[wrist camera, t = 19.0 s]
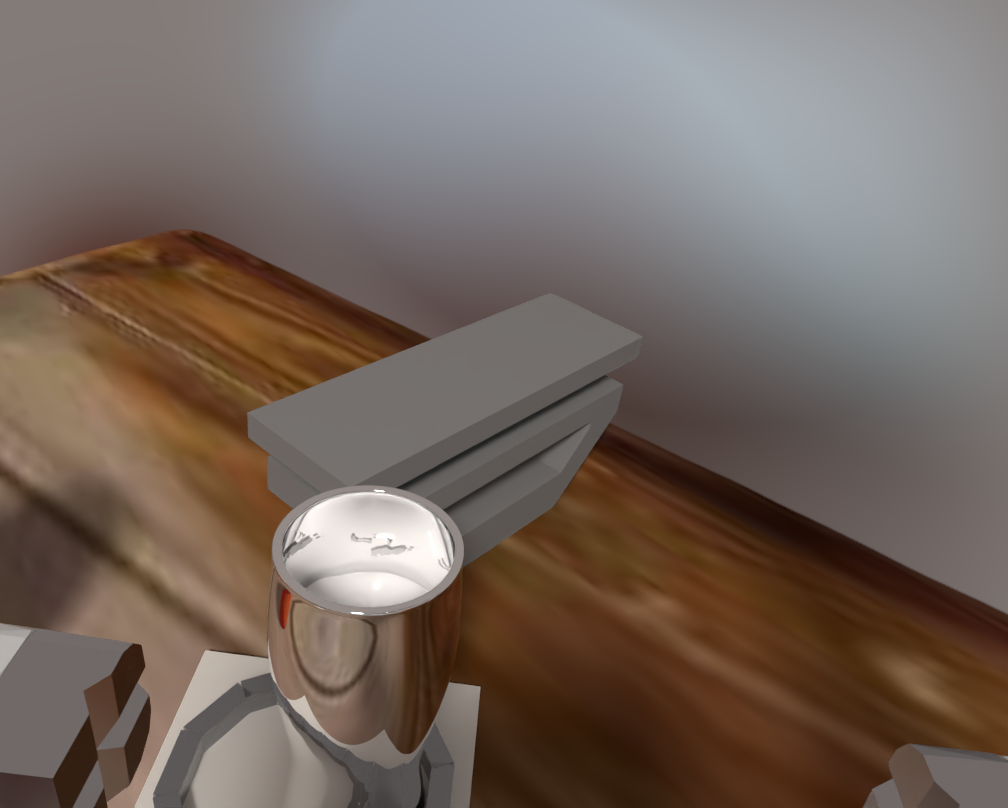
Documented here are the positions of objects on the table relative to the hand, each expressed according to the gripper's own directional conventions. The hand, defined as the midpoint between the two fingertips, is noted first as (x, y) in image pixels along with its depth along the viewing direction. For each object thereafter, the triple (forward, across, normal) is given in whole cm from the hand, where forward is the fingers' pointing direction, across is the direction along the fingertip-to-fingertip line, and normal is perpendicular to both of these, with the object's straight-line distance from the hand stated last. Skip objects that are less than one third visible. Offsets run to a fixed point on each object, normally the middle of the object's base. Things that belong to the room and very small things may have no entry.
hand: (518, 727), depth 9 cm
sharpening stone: (+37, +2, +28) cm, 47 cm away
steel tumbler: (+16, +4, +28) cm, 32 cm away
